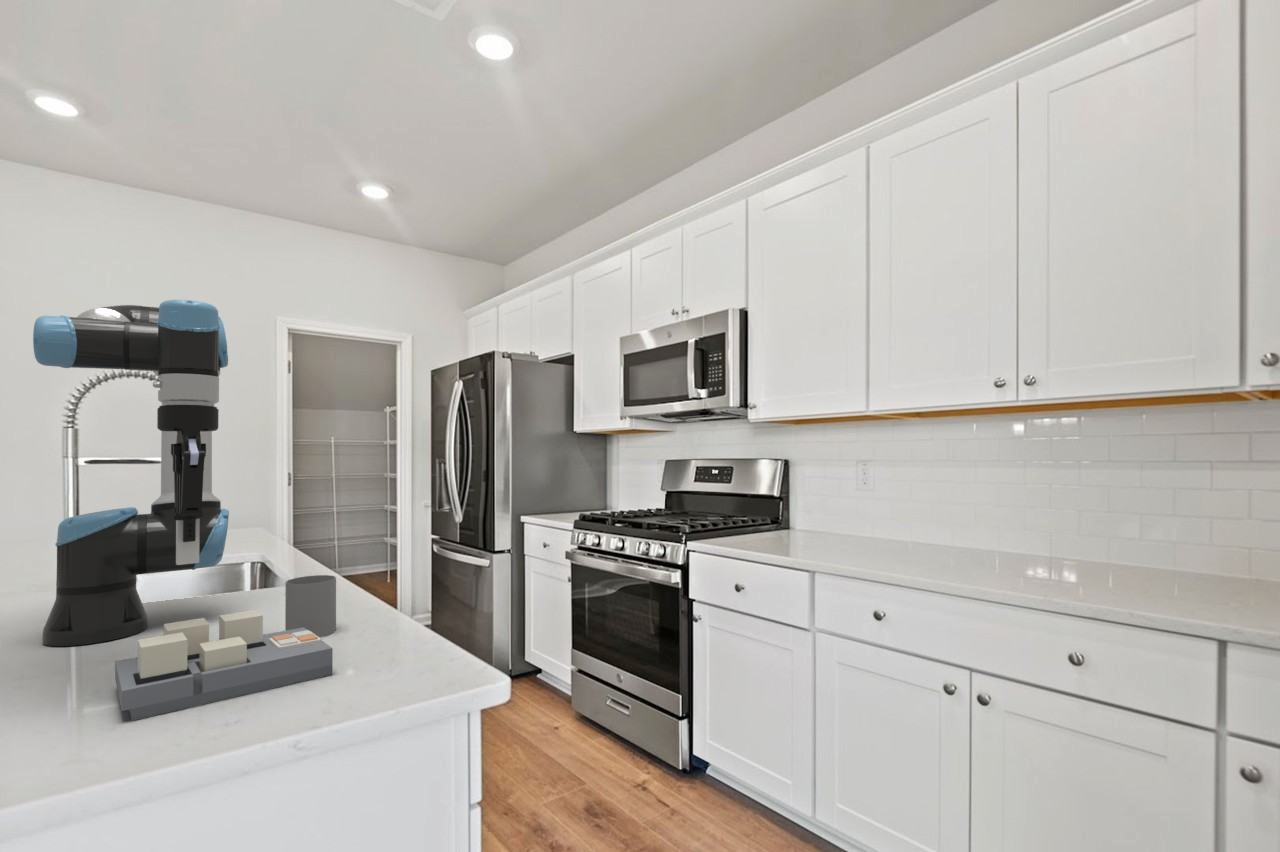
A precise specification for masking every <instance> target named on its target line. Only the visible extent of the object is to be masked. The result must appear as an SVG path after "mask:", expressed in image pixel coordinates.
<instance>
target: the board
mask: <svg viewBox="0 0 1280 852" xmlns="http://www.w3.org/2000/svg"><path fill="white" fill-rule="evenodd" d="M329 676H333V647H331V646H330V645H329V644H328V643H326V642H324V640H322V637H320V638H319V637H318V636H316V635H315V634H314V633H312V632H311V631H309V630H307V629H305V628H304V627H303V628H297V629H292V630H286V631H285V630H281V631H276V632H275V631H274V632H270V633H265V634H264V633H263V642H257V643H252V644H247V663H245V664H240V665H235V666H230V667H225V668H220V669H215V670H210V671H205V672H201V671H200V670H199V653H198V654H192V655H187V670H183V671H177V672H172V673H167V674H162V675H157V676H152V677H147V678H142V679H141V678H140V675H139V672H138V656H137V657H131V658H130V657H129V658H125V659H120V660H119V659H118V660H115V661H114V681H115V685H116V690H117V694H118V695H117V696H118V700H119V703H120V704H119V705H120V709H121V711H122V712H123V711H124V712H125V711H129V716H130V719H131V721H132V722H133V721H136V720H140V719H141V720H142V719H145V718H150V717H154V716H159V715H163V714H168V713H172V712H176V711H179V710H184V709H189V708H194V707H198V706H202V705H205V704H211V703H215V702H219V701H224V700H228V699H233V698H238V697H241V696H246V695H247V696H248V695H251V694H255V693H259V692H263V691H269V690H273V689H277V688H282V687H285V686H289V685H293V684H298V683H302V682H303V683H304V682H307V681H311V680H316V679H320V678H325V677H329Z"/></svg>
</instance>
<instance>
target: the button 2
mask: <svg viewBox="0 0 1280 852" xmlns="http://www.w3.org/2000/svg"><path fill="white" fill-rule="evenodd" d="M181 632H183V634H184V635H185V637H186V638H187V655H192V654H198V653H199V644H200V643H206V642H210V623H209V622H208V621H207V620H206V618H205V617H199V618H193V619H188V620H181V621H174V622H169V623H164V624H163V635H169V634H175V633H181Z"/></svg>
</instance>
